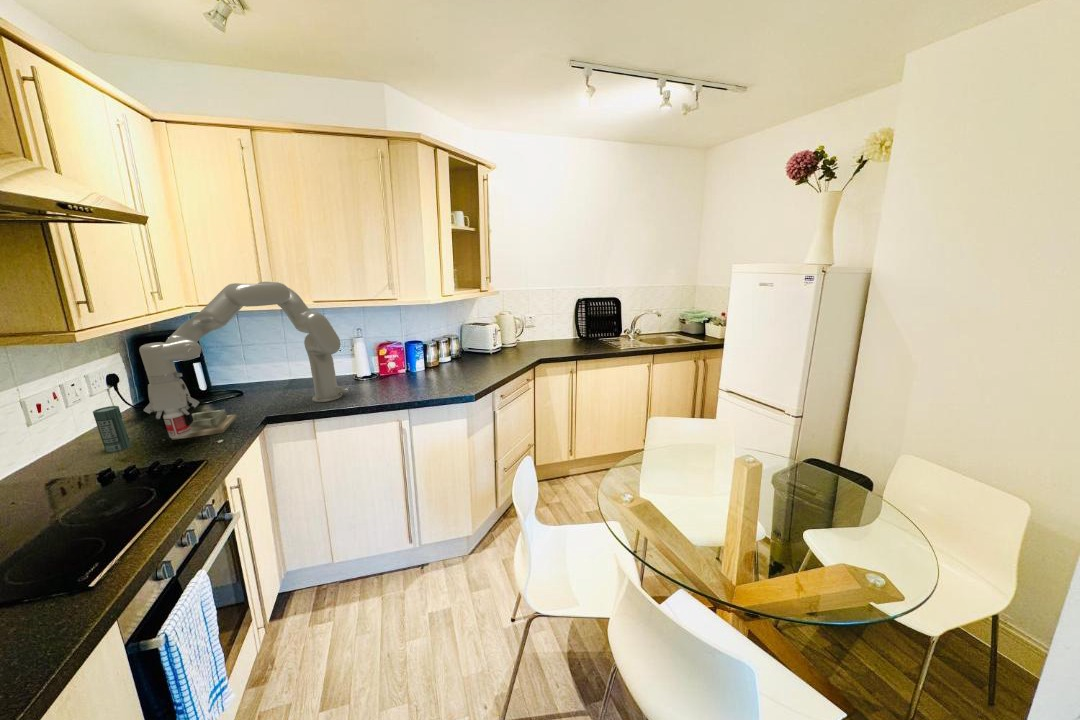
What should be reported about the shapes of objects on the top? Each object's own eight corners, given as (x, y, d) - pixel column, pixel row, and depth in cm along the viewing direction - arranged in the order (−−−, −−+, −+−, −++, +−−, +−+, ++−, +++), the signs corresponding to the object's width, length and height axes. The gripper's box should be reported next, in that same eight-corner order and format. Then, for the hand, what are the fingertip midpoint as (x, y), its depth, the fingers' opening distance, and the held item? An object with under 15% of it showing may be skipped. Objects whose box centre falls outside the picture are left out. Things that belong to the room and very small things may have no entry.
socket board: (237, 417, 171) (234, 406, 169) (223, 432, 156) (220, 420, 155) (190, 423, 166) (187, 412, 164) (171, 439, 151) (168, 427, 150)
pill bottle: (194, 429, 151) (186, 401, 148) (187, 436, 145) (179, 407, 142) (174, 433, 149) (165, 404, 145) (166, 440, 143) (156, 410, 140)
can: (133, 443, 149) (122, 404, 145) (124, 450, 143) (112, 410, 140) (112, 446, 147) (99, 407, 143) (102, 453, 141) (88, 413, 138)
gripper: (198, 371, 147) (211, 417, 152) (138, 378, 142) (153, 426, 146) (189, 377, 140) (203, 425, 145) (125, 385, 135) (142, 434, 140)
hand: (178, 425), depth 146 cm, fingers closed on pill bottle, 6 cm apart
